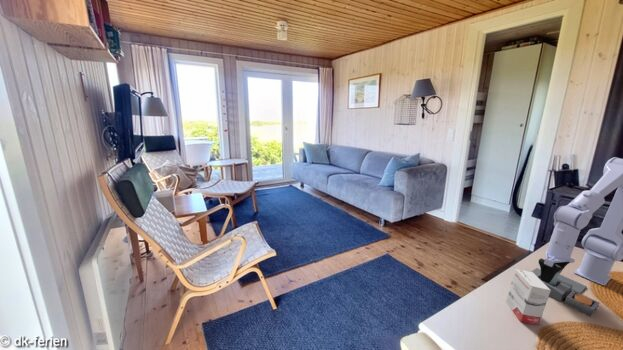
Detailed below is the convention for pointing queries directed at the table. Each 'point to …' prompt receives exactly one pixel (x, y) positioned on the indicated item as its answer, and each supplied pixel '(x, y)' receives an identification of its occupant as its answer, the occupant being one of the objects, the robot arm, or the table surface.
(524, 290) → the ink box
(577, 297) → the release button
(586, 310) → the button housing
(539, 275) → the socket block
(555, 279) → the cylinder
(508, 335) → the table surface
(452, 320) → the table surface
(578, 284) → the slate mat
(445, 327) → the table surface
